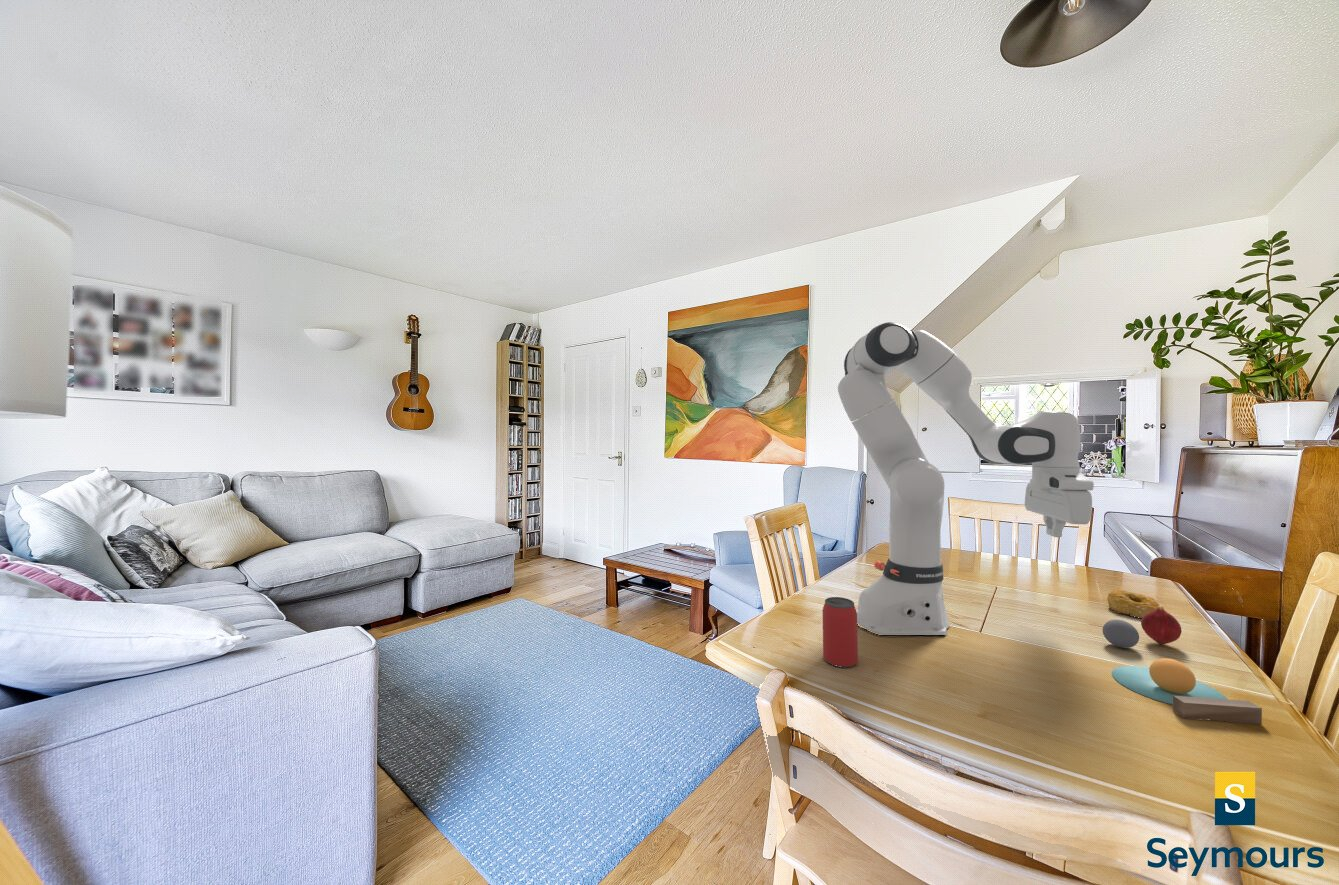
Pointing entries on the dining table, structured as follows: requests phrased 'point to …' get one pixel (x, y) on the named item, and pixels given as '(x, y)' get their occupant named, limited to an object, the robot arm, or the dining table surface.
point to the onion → (1161, 626)
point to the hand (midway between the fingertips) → (1054, 536)
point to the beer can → (840, 632)
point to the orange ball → (1172, 676)
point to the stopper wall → (1217, 709)
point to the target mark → (1144, 685)
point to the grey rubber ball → (1120, 633)
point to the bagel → (1131, 603)
